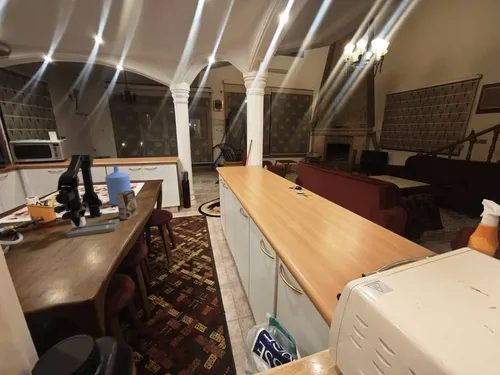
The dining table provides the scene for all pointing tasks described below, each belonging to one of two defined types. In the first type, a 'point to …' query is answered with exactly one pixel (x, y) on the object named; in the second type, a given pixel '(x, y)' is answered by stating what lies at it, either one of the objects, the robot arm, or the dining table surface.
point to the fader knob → (82, 222)
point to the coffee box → (126, 204)
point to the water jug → (117, 184)
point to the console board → (94, 228)
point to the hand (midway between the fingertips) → (79, 225)
